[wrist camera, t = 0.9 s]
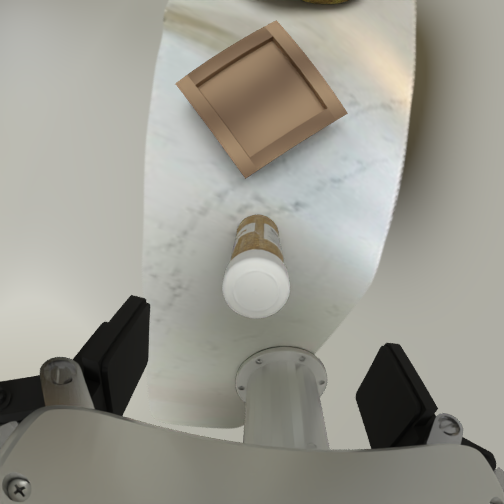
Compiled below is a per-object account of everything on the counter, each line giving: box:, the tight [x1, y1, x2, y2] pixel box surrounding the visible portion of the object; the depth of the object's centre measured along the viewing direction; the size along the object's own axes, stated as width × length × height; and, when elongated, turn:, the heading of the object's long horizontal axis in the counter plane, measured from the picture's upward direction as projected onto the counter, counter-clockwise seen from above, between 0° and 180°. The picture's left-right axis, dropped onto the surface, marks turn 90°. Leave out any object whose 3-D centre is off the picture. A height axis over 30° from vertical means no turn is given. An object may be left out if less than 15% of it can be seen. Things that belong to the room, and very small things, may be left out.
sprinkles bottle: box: [222, 215, 290, 319], centre depth 26 cm, size 5×5×14 cm
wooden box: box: [176, 20, 348, 179], centre depth 24 cm, size 10×10×7 cm
